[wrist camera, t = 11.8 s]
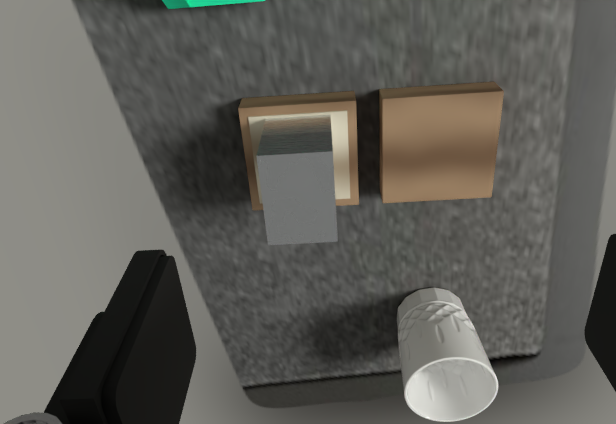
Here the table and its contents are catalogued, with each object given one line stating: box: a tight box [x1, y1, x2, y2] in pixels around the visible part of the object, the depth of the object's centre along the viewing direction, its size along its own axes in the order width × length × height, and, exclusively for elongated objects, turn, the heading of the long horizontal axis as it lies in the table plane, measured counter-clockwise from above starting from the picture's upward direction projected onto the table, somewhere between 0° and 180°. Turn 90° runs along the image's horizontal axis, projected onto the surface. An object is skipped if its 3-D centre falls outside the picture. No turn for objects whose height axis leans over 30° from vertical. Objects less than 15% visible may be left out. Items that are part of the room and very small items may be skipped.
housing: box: [256, 115, 338, 245], centre depth 39 cm, size 7×5×7 cm
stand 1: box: [238, 91, 359, 210], centre depth 43 cm, size 9×9×3 cm
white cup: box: [397, 287, 498, 422], centre depth 49 cm, size 8×8×10 cm
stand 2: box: [379, 82, 504, 203], centre depth 43 cm, size 9×9×2 cm
